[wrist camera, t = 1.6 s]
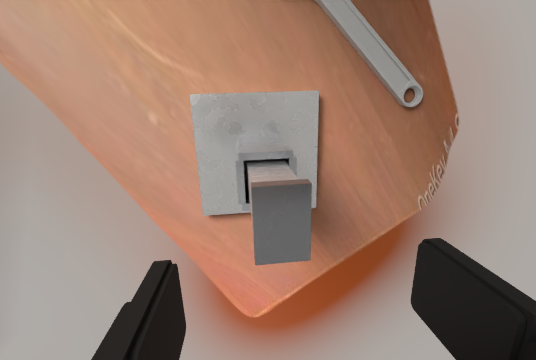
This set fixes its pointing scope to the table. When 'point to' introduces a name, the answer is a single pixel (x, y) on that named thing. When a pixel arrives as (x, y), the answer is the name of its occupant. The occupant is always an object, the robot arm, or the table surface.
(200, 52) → the table surface
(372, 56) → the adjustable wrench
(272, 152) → the stand base
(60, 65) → the table surface
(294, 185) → the column
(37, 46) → the table surface
